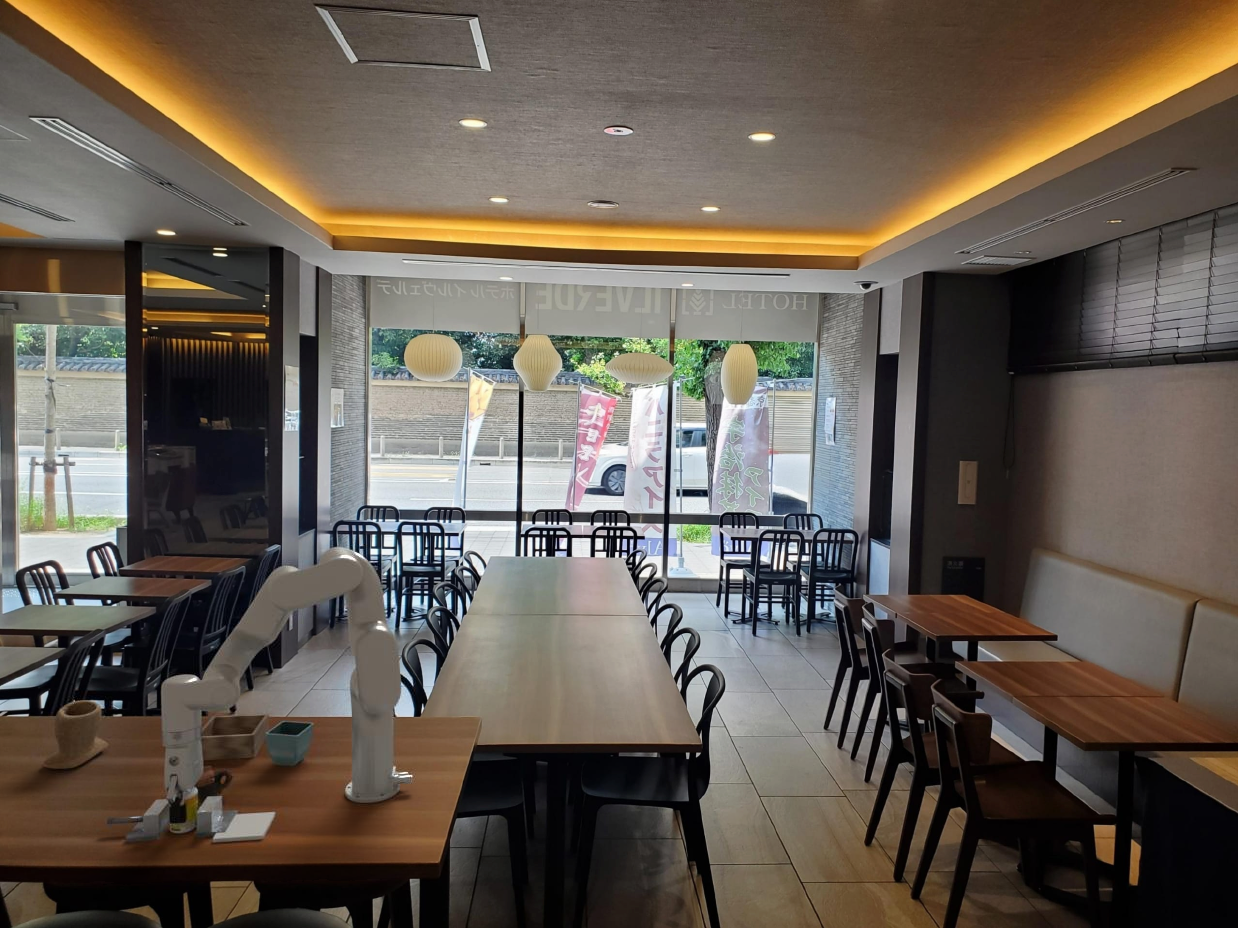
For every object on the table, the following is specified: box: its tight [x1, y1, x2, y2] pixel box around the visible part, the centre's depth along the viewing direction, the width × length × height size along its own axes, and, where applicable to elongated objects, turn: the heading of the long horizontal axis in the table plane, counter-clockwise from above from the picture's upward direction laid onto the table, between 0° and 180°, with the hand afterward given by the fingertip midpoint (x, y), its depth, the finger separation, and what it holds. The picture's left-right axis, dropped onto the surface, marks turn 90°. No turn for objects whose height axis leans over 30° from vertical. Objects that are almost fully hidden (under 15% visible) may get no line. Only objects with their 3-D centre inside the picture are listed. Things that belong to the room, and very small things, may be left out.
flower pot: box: [265, 720, 315, 767], centre depth 207 cm, size 9×9×9 cm
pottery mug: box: [197, 765, 234, 808], centre depth 188 cm, size 12×10×8 cm
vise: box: [106, 795, 239, 843], centre depth 174 cm, size 25×9×5 cm, turn 100°
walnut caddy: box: [201, 713, 270, 761], centre depth 215 cm, size 15×15×6 cm
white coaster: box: [212, 811, 276, 843], centre depth 175 cm, size 10×10×1 cm
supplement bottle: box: [168, 787, 199, 834], centre depth 174 cm, size 6×6×10 cm
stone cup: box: [42, 699, 109, 770], centre depth 206 cm, size 15×12×15 cm
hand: (183, 814), depth 174 cm, fingers closed on supplement bottle, 5 cm apart
